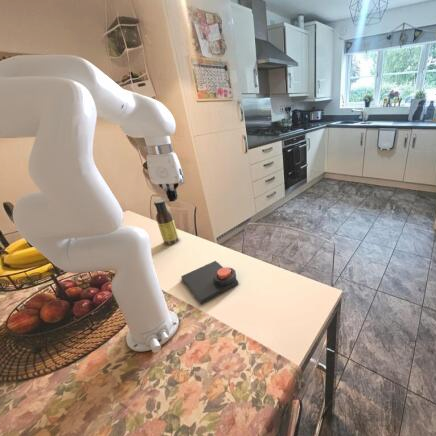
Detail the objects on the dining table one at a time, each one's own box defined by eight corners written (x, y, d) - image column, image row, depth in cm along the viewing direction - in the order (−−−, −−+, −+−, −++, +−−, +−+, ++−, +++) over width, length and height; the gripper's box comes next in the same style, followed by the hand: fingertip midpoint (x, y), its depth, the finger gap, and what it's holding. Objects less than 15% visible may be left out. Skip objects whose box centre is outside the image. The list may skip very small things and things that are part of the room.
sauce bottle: (170, 237, 113) (158, 197, 104) (182, 238, 111) (171, 198, 103) (160, 245, 107) (147, 203, 98) (173, 246, 106) (161, 203, 97)
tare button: (233, 275, 82) (233, 271, 81) (221, 281, 79) (221, 277, 79) (227, 269, 85) (226, 265, 84) (215, 275, 82) (214, 271, 82)
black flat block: (241, 282, 83) (240, 274, 81) (201, 304, 74) (199, 296, 73) (219, 263, 94) (217, 255, 92) (182, 280, 85) (179, 272, 84)
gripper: (131, 152, 79) (148, 204, 87) (178, 151, 79) (190, 203, 87) (144, 148, 86) (158, 197, 94) (186, 147, 86) (197, 195, 94)
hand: (173, 200), depth 90 cm, fingers closed
